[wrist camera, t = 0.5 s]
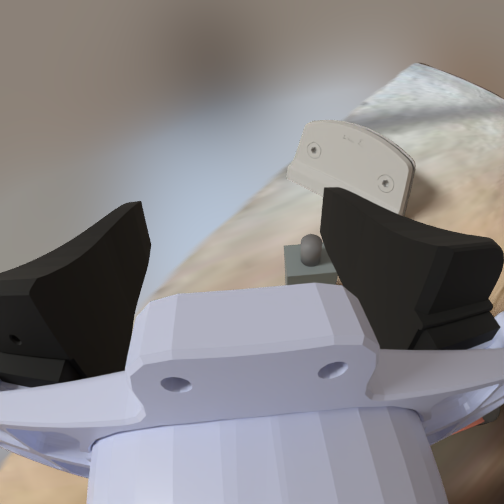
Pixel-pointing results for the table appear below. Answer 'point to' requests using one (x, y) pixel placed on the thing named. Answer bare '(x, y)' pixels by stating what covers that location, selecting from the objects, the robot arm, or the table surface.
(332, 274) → the press
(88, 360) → the robot arm
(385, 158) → the white arched thin slab
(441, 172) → the table surface
